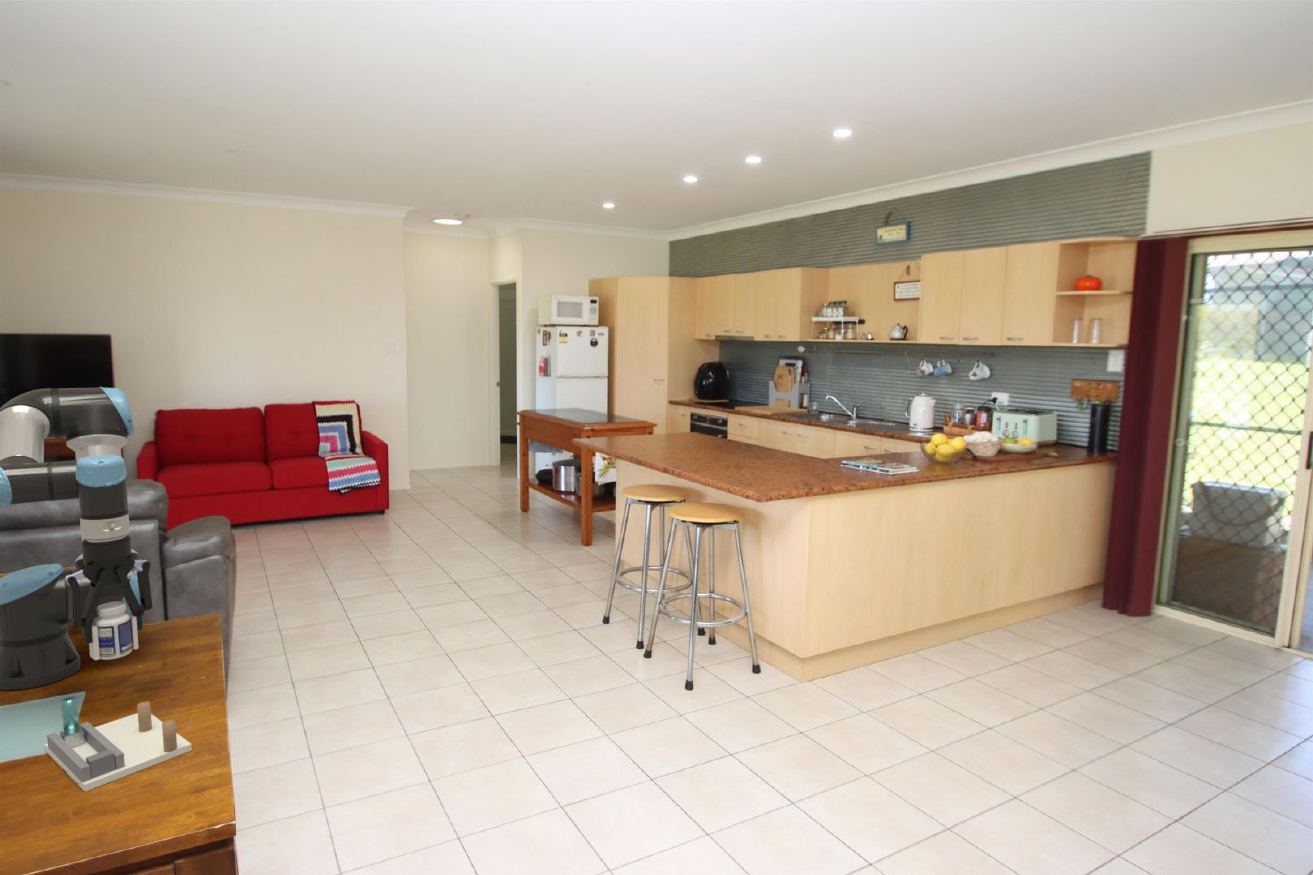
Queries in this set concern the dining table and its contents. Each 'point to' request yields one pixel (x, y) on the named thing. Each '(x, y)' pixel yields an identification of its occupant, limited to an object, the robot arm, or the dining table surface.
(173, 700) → the dining table surface
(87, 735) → the board
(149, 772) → the dining table surface
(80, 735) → the pin
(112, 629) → the pill bottle
